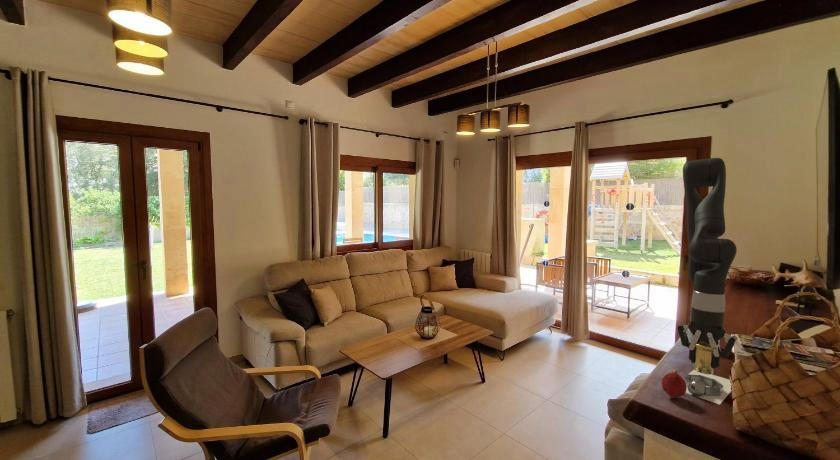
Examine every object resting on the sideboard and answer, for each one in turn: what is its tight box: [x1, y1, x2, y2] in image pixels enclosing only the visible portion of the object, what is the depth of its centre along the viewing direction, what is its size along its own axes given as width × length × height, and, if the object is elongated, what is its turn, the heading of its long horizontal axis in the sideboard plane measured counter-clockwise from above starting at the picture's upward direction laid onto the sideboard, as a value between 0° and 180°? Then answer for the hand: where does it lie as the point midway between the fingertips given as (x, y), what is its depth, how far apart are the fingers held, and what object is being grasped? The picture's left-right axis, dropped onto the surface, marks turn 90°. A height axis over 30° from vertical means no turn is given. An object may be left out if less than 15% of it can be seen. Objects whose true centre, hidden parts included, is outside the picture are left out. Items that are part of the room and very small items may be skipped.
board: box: [682, 369, 733, 408], centre depth 108 cm, size 20×11×1 cm, turn 128°
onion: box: [661, 369, 687, 399], centre depth 103 cm, size 6×6×8 cm
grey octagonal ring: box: [683, 373, 723, 398], centre depth 105 cm, size 11×9×4 cm
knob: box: [693, 341, 714, 375], centre depth 106 cm, size 5×5×8 cm
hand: (703, 364), depth 106 cm, fingers closed on knob, 4 cm apart
